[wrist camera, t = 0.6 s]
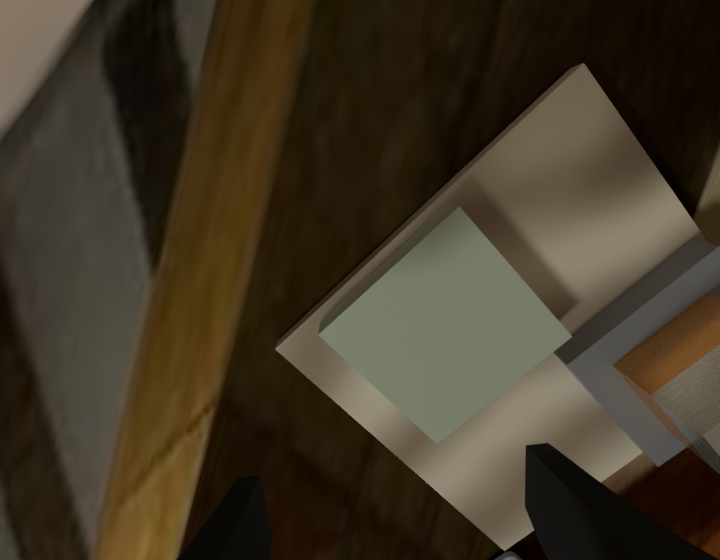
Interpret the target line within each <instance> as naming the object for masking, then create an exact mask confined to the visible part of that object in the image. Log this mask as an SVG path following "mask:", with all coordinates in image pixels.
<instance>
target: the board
mask: <svg viewBox="0 0 720 560" xmlns="http://www.w3.org/2000/svg"><path fill="white" fill-rule="evenodd" d="M450 202H451V203H453V204H455V205H458V206H460V208H461V209H462V210H463V211H464V212H465V213H466V215H467V216H468V217H469V218H470V219H471V220H472V221H473V223H474V224H475V225H476V226H477V227H478V228H479V230H480V231H481V232H482V233H483V234H484V235H485V236H486V238H487V239H488V240H489V241H490V242H491V243H492V245H493V246H494V247H495V248H496V249H497V250H498V251H499V253H500V254H501V255H502V256H503V257H504V258H505V260H506V261H507V262H508V263H509V264H510V265H511V266H512V268H513V269H514V270H515V271H516V272H517V273H518V275H519V276H520V277H521V278H522V279H523V280H524V281H525V283H526V284H527V285H528V286H529V287H530V288H531V289H532V291H533V292H534V293H535V294H536V295H537V296H538V298H539V299H540V300H541V301H542V302H543V303H544V304H545V306H546V307H547V308H548V309H549V310H550V311H551V313H552V314H553V315H554V316H555V317H556V318H557V319H558V321H559V322H560V323H561V324H562V325H563V326H564V328H565V329H566V330H567V331H568V332H569V333H570V334H573V333H574V332H575V331H576V330H578V329H579V328H580V327H581V326H583V325H584V324H585V323H586V322H588V321H589V320H590V319H591V318H593V317H594V316H595V315H596V314H598V313H599V312H600V311H601V310H603V309H604V308H605V307H606V306H608V305H609V304H610V303H611V302H613V301H614V300H615V299H616V298H618V297H619V296H620V295H621V294H623V293H624V292H625V291H626V290H628V289H629V288H630V287H631V286H633V285H634V284H635V283H636V282H638V281H639V280H640V279H641V278H643V277H644V276H645V275H647V274H648V273H649V272H650V271H652V270H653V269H654V268H655V267H657V266H658V265H659V264H660V263H662V262H663V261H664V260H665V259H667V258H668V257H669V256H670V255H672V254H673V253H674V252H675V251H677V250H678V249H679V248H680V247H682V246H683V245H684V244H685V243H687V242H688V241H689V240H690V239H694V240H698V241H702V242H706V243H708V241H707V240H706V238H705V237H704V236H703V234H702V233H701V231H700V230H699V228H698V227H697V225H696V224H695V223H694V221H693V220H692V218H691V217H690V215H689V214H688V212H687V211H686V210H685V208H684V207H683V205H682V204H681V202H680V201H679V199H678V198H677V197H676V195H675V194H674V192H673V191H672V189H671V188H670V186H669V185H668V184H667V182H666V181H665V179H664V178H663V176H662V175H661V174H660V172H659V171H658V169H657V168H656V166H655V165H654V163H653V162H652V161H651V159H650V158H649V156H648V155H647V153H646V152H645V150H644V149H643V148H642V146H641V145H640V143H639V142H638V140H637V139H636V137H635V136H634V135H633V133H632V132H631V130H630V129H629V127H628V126H627V124H626V123H625V122H624V120H623V119H622V117H621V116H620V114H619V113H618V111H617V110H616V109H615V107H614V106H613V104H612V103H611V101H610V100H609V99H608V97H607V96H606V94H605V93H604V91H603V90H602V88H601V87H600V86H599V84H598V83H597V81H596V80H595V78H594V77H593V75H592V74H591V73H590V71H589V70H588V68H587V67H586V65H585V64H584V63H582V64H580V65H577V66H574V67H572V68H570V69H569V70H568V71H567V72H566V73H565V74H564V75H563V76H561V77H560V78H559V79H558V80H557V81H556V82H555V83H554V84H553V85H552V86H551V87H550V88H549V89H548V90H546V91H545V92H544V93H543V94H542V95H541V96H540V97H539V98H538V99H537V100H536V101H535V102H534V103H532V104H531V105H530V106H529V107H528V108H527V109H526V110H525V111H524V112H523V113H522V114H521V115H520V116H519V117H517V118H516V119H515V120H514V121H513V122H512V123H511V124H510V125H509V126H508V127H507V128H506V129H505V130H503V131H502V132H501V133H500V134H499V135H498V136H497V137H496V138H495V139H494V140H493V141H492V142H491V143H489V144H488V145H487V146H486V147H485V148H484V149H483V150H482V151H481V152H480V153H479V154H478V155H477V156H476V157H474V158H473V159H472V160H471V161H470V162H469V163H468V164H467V165H466V166H465V167H464V168H463V169H462V170H460V171H459V172H458V173H457V174H456V175H455V176H454V177H453V178H452V179H451V180H450V181H449V182H448V183H446V184H445V185H444V186H443V187H442V188H441V189H440V190H439V191H438V192H437V193H436V194H435V195H434V196H433V197H431V198H430V199H429V200H428V201H427V202H426V203H425V204H424V205H423V206H422V207H421V208H420V209H419V210H417V211H416V212H415V213H414V214H413V215H412V216H411V217H410V218H409V219H408V220H407V221H406V222H405V223H404V224H402V225H401V226H400V227H399V228H398V229H397V230H396V231H395V232H394V233H393V234H392V235H391V236H390V237H388V238H387V239H386V240H385V241H384V242H383V243H382V244H381V245H380V246H379V247H378V248H377V249H376V250H374V251H373V252H372V253H371V254H370V255H369V256H368V257H367V258H366V259H365V260H364V261H363V262H362V263H361V264H359V265H358V266H357V267H356V268H355V269H354V270H353V271H352V272H351V273H350V274H349V275H348V276H347V277H345V278H344V279H343V280H342V281H341V282H340V283H339V284H338V285H337V286H336V287H335V288H334V289H333V290H332V291H330V292H329V293H328V294H327V295H326V296H325V297H324V298H323V299H322V300H321V301H320V302H319V303H318V304H316V305H315V306H314V307H313V308H312V309H311V310H310V311H309V312H308V313H307V314H306V315H305V316H304V317H302V318H301V319H300V320H299V321H298V322H297V323H296V324H295V325H294V326H293V327H292V328H291V329H290V330H289V331H287V332H286V333H285V334H284V335H283V336H282V337H281V338H280V339H279V340H278V342H277V345H276V348H275V349H276V350H277V351H278V352H279V353H280V354H281V355H283V356H284V357H285V358H286V359H287V360H288V361H289V362H290V363H292V364H293V365H294V366H295V367H296V368H297V369H298V370H300V371H301V372H302V373H303V374H304V375H305V376H306V377H307V378H309V379H310V380H311V381H312V382H313V383H314V384H315V385H317V386H318V387H319V388H320V389H321V390H322V391H323V392H325V393H326V394H327V395H328V396H329V397H330V398H331V399H332V400H334V401H335V402H336V403H337V404H338V405H339V406H340V407H342V408H343V409H344V410H345V411H346V412H347V413H348V414H349V415H351V416H352V417H353V418H354V419H355V420H356V421H357V422H359V423H360V424H361V425H362V426H363V427H364V428H365V429H367V430H368V431H369V432H370V433H371V434H372V435H373V436H374V437H376V438H377V439H378V440H379V441H380V442H381V443H382V444H384V445H385V446H386V447H387V448H388V449H389V450H390V451H391V452H393V453H394V454H395V455H396V456H397V457H398V458H399V459H401V460H402V461H403V462H404V463H405V464H406V465H407V466H409V467H410V468H411V469H412V470H413V471H414V472H415V473H416V474H418V475H419V476H420V477H421V478H422V479H423V480H424V481H426V482H427V483H428V484H429V485H430V486H431V487H432V488H434V489H435V490H436V491H437V492H438V493H439V494H440V495H441V496H443V497H444V498H445V499H446V500H447V501H448V502H449V503H451V504H452V505H453V506H454V507H455V508H456V509H457V510H458V511H460V512H461V513H462V514H463V515H464V516H465V517H466V518H468V519H469V520H470V521H471V522H472V523H473V524H474V525H476V526H477V527H478V528H479V529H480V530H481V531H482V532H483V533H485V534H486V535H487V536H488V537H489V538H490V539H491V540H493V541H494V542H495V543H496V544H497V545H498V546H499V547H500V548H502V549H503V550H504V551H506V550H507V549H508V548H510V547H511V546H513V545H514V544H515V543H517V542H518V541H520V540H521V539H522V538H524V537H525V536H527V535H528V534H529V533H531V532H532V531H534V528H533V526H532V523H531V521H530V518H529V516H528V513H527V510H526V508H525V456H526V445H533V444H542V443H549V444H550V445H552V446H553V447H554V448H556V449H557V450H558V451H560V452H561V453H562V454H564V455H565V456H566V457H568V458H569V459H570V460H571V461H573V462H574V463H575V464H577V465H578V466H579V467H581V468H582V469H583V470H585V471H586V472H587V473H588V474H590V475H591V476H592V477H594V478H595V479H596V480H598V481H599V482H600V483H601V482H602V481H604V480H605V479H606V478H608V477H609V476H611V475H612V474H613V473H615V472H616V471H618V470H619V469H620V468H622V467H623V466H625V465H626V464H627V463H629V462H630V461H632V460H633V459H634V458H636V457H637V456H639V455H640V454H641V453H643V452H642V451H641V450H640V449H639V448H638V447H637V446H636V444H635V443H634V442H633V441H632V440H631V439H630V438H629V437H628V436H627V434H626V433H625V432H624V431H623V430H622V429H621V428H620V427H619V426H618V424H617V423H616V422H615V421H614V420H613V419H612V418H611V417H610V415H609V414H608V413H607V412H606V411H605V410H604V409H603V408H602V407H601V405H600V404H599V403H598V402H597V401H596V400H595V399H594V398H593V396H592V395H591V394H590V393H589V392H588V391H587V390H586V389H585V388H584V386H583V385H582V384H581V383H580V382H579V381H578V380H577V379H576V377H575V376H574V375H573V374H572V373H571V372H570V371H569V370H568V369H567V367H566V366H565V365H564V364H563V363H562V362H561V361H560V360H559V359H558V357H557V356H556V355H555V354H554V353H551V354H550V355H549V356H548V357H546V358H545V359H544V360H543V361H541V362H540V363H539V364H538V365H536V366H535V367H534V368H532V369H531V370H530V371H529V372H527V373H526V374H525V375H524V376H522V377H521V378H520V379H519V380H517V381H516V382H515V383H514V384H512V385H511V386H510V387H509V388H507V389H506V390H505V391H504V392H502V393H501V394H500V395H499V396H497V397H496V398H495V399H494V400H492V401H491V402H490V403H489V404H487V405H486V406H485V407H484V408H482V409H481V410H480V411H478V412H477V413H476V414H475V415H473V416H472V417H471V418H470V419H468V420H467V421H466V422H465V423H463V424H462V425H461V426H460V427H458V428H457V429H456V430H455V431H453V432H452V433H451V434H450V435H448V436H447V437H446V438H445V439H443V440H442V441H441V442H440V443H438V444H436V443H435V442H434V441H433V440H432V439H430V438H429V437H428V436H427V435H426V434H425V433H424V432H423V431H422V430H421V429H420V428H419V427H417V426H416V425H415V424H414V423H413V422H412V421H411V420H410V419H409V418H408V417H407V416H406V415H404V414H403V413H402V412H401V411H400V410H399V409H398V408H397V407H396V406H395V405H394V404H393V403H391V402H390V401H389V400H388V399H387V398H386V397H385V396H384V395H383V394H382V393H381V392H380V391H378V390H377V389H376V388H375V387H374V386H373V385H372V384H371V383H370V382H369V381H368V380H367V379H365V378H364V377H363V376H362V375H361V374H360V373H359V372H358V371H357V370H356V369H355V368H353V367H352V366H351V365H350V364H349V363H348V362H347V361H346V360H345V359H344V358H343V357H342V356H340V355H339V354H338V353H337V352H336V351H335V350H334V349H333V348H332V347H331V346H330V345H329V344H327V343H326V342H325V341H324V340H323V339H322V338H321V337H320V336H319V335H318V333H319V325H320V321H321V320H322V319H323V318H325V317H326V316H327V315H328V314H329V313H330V312H331V311H332V310H333V309H334V308H335V307H336V306H338V305H339V304H340V303H341V302H342V301H343V300H344V299H345V298H346V297H347V296H348V295H350V294H351V293H352V292H353V291H354V290H355V289H356V288H357V287H358V286H359V285H360V284H362V283H363V282H364V281H365V280H366V279H367V278H368V277H369V276H370V275H371V274H372V273H373V272H375V271H376V270H377V269H378V268H379V267H380V266H381V265H382V264H383V263H384V262H385V261H387V260H388V259H389V258H390V257H391V256H392V255H393V254H394V253H395V252H396V251H397V250H399V249H400V248H401V247H402V246H403V245H404V244H405V243H406V242H407V241H408V240H409V239H410V238H412V237H413V236H414V235H415V234H416V233H417V232H418V231H419V230H420V229H421V228H422V227H424V226H425V225H426V224H427V223H428V222H429V221H430V220H431V219H432V218H433V217H434V216H436V215H437V214H438V213H439V212H440V211H441V210H442V209H443V208H444V207H445V206H446V205H447V204H449V203H450Z"/></svg>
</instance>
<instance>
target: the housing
mask: <svg viewBox="0 0 720 560" xmlns="http://www.w3.org/2000/svg"><path fill="white" fill-rule="evenodd" d="M612 366H613V367H614V368H615V369H616V370H617V372H618V373H619V374H620V375H621V376H622V377H623V379H624V380H625V381H626V382H627V383H628V384H629V386H630V387H631V388H632V389H633V390H634V391H635V393H636V394H637V395H638V396H639V397H640V399H641V400H642V401H643V402H644V403H645V404H646V406H647V407H648V408H649V409H650V410H651V411H652V413H653V414H654V415H655V416H656V417H657V418H658V420H659V421H660V422H661V423H662V424H663V425H664V427H665V428H666V429H667V430H668V431H669V432H670V433H671V434H672V435H674V436H675V437H676V438H677V439H678V440H680V441H681V442H682V443H683V444H684V445H685V446H687V447H688V448H689V449H690V450H691V451H693V452H694V453H695V454H696V455H697V456H698V457H700V458H701V459H702V460H703V461H704V462H706V463H707V464H708V465H709V466H710V467H711V468H713V469H714V470H715V471H716V472H717V473H719V474H720V298H718V297H715V296H713V295H710V294H707V293H706V294H705V295H703V296H702V297H701V298H699V299H698V300H697V301H695V302H694V303H693V304H692V305H690V306H689V307H688V308H686V309H685V310H684V311H682V312H681V313H680V314H678V315H677V316H676V317H675V318H673V319H672V320H671V321H669V322H668V323H667V324H665V325H664V326H663V327H662V328H660V329H659V330H658V331H656V332H655V333H654V334H652V335H651V336H650V337H648V338H647V339H646V340H645V341H643V342H642V343H641V344H639V345H638V346H637V347H635V348H634V349H633V350H632V351H630V352H629V353H628V354H626V355H625V356H624V357H622V358H621V359H620V360H619V361H617V362H616V363H615V364H613V365H612Z"/></svg>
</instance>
